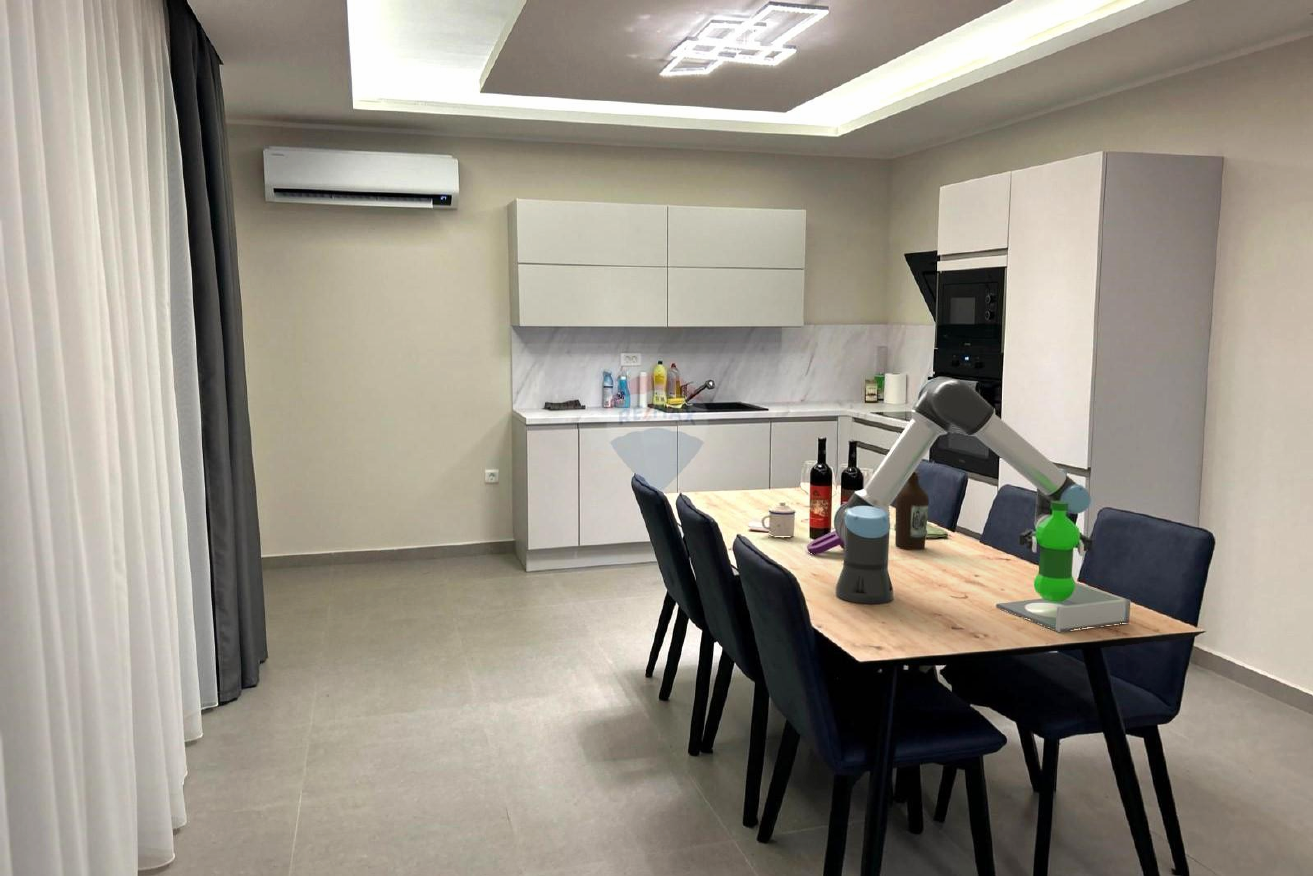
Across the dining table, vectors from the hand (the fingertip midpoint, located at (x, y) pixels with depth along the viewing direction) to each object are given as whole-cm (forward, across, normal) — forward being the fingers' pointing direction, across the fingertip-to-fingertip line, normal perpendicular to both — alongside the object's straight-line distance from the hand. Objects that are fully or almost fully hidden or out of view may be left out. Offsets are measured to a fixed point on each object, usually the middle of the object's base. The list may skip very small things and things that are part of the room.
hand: (1058, 548), depth 242 cm
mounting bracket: (-50, +61, -18) cm, 81 cm away
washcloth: (-91, +37, -19) cm, 100 cm away
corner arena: (-4, -2, -18) cm, 19 cm away
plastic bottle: (-4, 0, -14) cm, 15 cm away
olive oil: (-69, +39, -18) cm, 81 cm away
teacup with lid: (-68, +83, -18) cm, 109 cm away
